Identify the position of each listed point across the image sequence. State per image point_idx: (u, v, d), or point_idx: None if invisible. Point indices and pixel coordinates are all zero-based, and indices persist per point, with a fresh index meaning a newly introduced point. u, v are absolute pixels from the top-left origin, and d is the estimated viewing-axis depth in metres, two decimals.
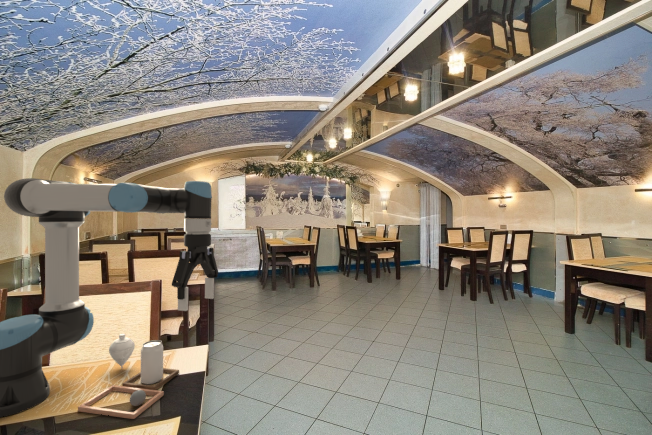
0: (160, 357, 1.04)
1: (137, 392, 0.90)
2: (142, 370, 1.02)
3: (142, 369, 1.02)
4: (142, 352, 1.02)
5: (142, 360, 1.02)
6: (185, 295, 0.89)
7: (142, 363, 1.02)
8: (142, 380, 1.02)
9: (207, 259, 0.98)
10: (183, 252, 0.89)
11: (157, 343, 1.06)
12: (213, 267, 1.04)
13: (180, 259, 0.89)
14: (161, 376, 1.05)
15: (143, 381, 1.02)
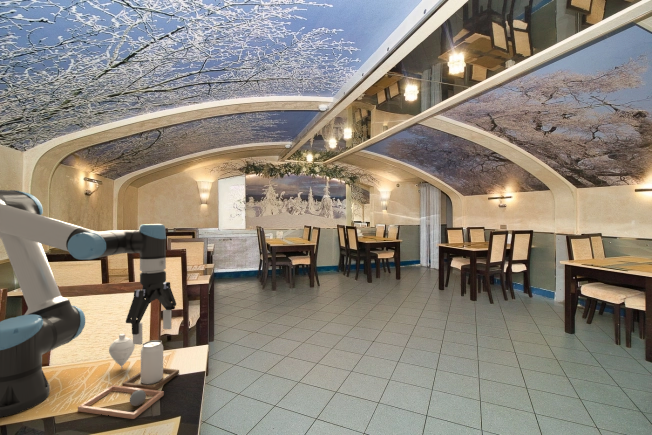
0: (160, 357, 1.04)
1: (137, 392, 0.90)
2: (142, 370, 1.02)
3: (142, 369, 1.02)
4: (142, 352, 1.02)
5: (142, 360, 1.02)
6: (139, 330, 0.98)
7: (142, 363, 1.02)
8: (142, 380, 1.02)
9: (163, 294, 1.07)
10: (137, 291, 0.98)
11: (157, 343, 1.06)
12: (171, 300, 1.12)
13: (134, 297, 0.98)
14: (161, 376, 1.05)
15: (143, 381, 1.02)
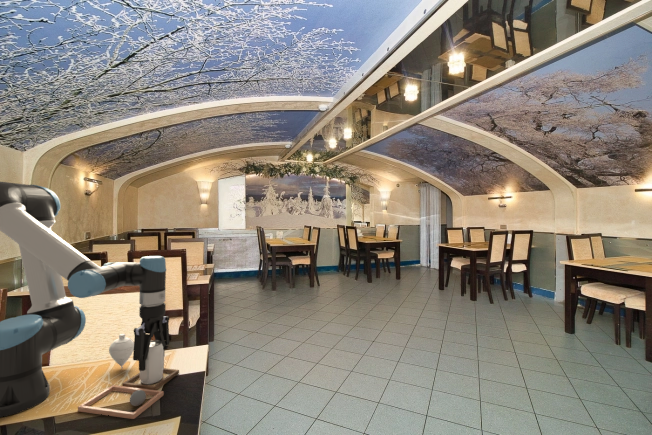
0: (160, 357, 1.04)
1: (137, 392, 0.90)
2: None
3: None
4: None
5: None
6: (146, 366, 1.01)
7: None
8: (142, 380, 1.02)
9: (161, 328, 1.06)
10: (136, 330, 0.98)
11: (157, 343, 1.06)
12: (165, 337, 1.10)
13: (135, 336, 0.99)
14: (161, 376, 1.05)
15: (143, 381, 1.02)
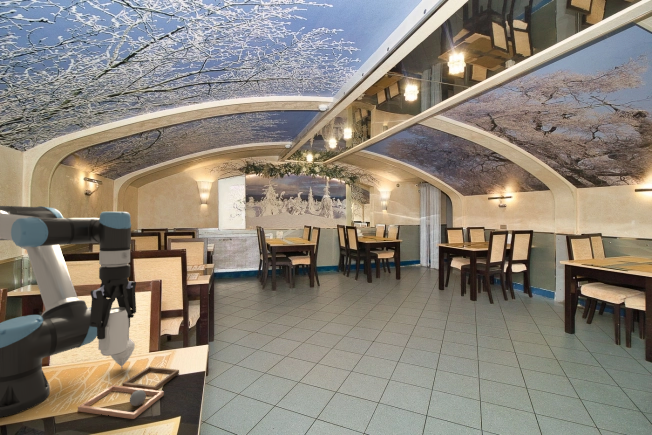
0: (123, 325, 0.92)
1: (137, 392, 0.90)
2: None
3: None
4: None
5: None
6: (105, 334, 0.88)
7: None
8: (102, 351, 0.90)
9: (125, 293, 0.94)
10: (94, 292, 0.86)
11: (120, 310, 0.93)
12: (131, 304, 0.98)
13: (93, 299, 0.86)
14: (125, 347, 0.92)
15: (103, 352, 0.89)
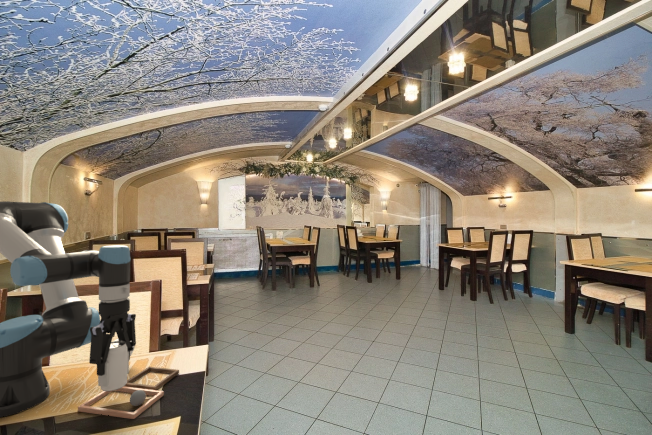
0: (123, 360, 0.91)
1: (137, 392, 0.90)
2: None
3: None
4: None
5: None
6: (105, 371, 0.88)
7: None
8: (102, 386, 0.89)
9: (124, 327, 0.94)
10: (93, 329, 0.86)
11: (120, 344, 0.93)
12: (131, 337, 0.98)
13: (92, 336, 0.86)
14: (124, 381, 0.92)
15: (103, 387, 0.89)
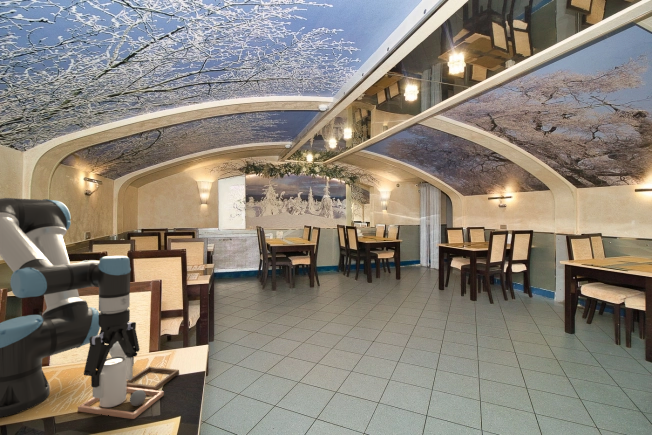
0: (122, 376, 0.91)
1: (137, 392, 0.90)
2: None
3: None
4: None
5: None
6: (100, 382, 0.87)
7: None
8: (101, 403, 0.89)
9: (125, 336, 0.94)
10: (93, 338, 0.86)
11: (119, 360, 0.93)
12: (133, 344, 0.99)
13: (91, 345, 0.86)
14: (124, 397, 0.92)
15: (102, 404, 0.89)
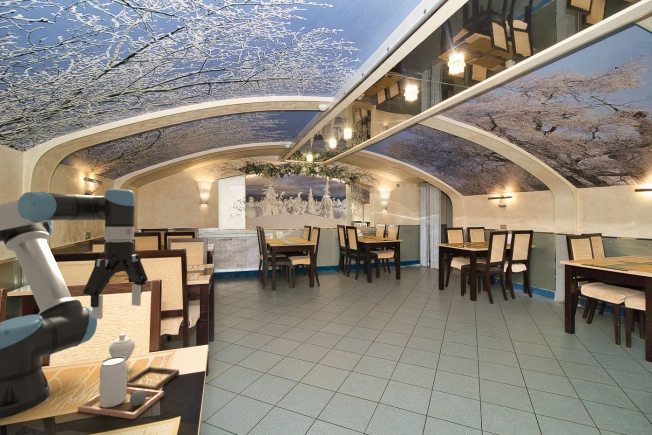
0: (122, 376, 0.91)
1: (137, 392, 0.90)
2: (101, 391, 0.89)
3: (101, 391, 0.89)
4: (101, 371, 0.90)
5: (101, 380, 0.90)
6: (99, 303, 0.89)
7: (101, 383, 0.89)
8: (101, 403, 0.89)
9: (130, 266, 0.98)
10: (98, 260, 0.90)
11: (119, 360, 0.93)
12: (141, 274, 1.04)
13: (95, 267, 0.90)
14: (124, 397, 0.92)
15: (102, 404, 0.89)
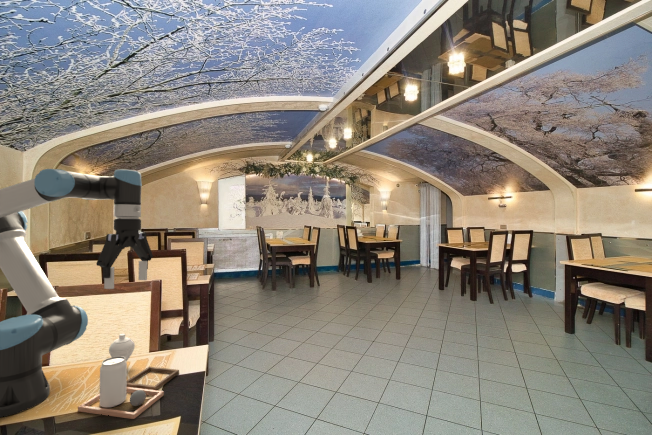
0: (122, 376, 0.91)
1: (137, 392, 0.90)
2: (101, 391, 0.89)
3: (101, 391, 0.89)
4: (101, 371, 0.90)
5: (101, 380, 0.90)
6: (111, 274, 0.96)
7: (101, 383, 0.89)
8: (101, 403, 0.89)
9: (138, 243, 1.05)
10: (109, 235, 0.97)
11: (119, 360, 0.93)
12: (147, 251, 1.11)
13: (106, 241, 0.96)
14: (124, 397, 0.92)
15: (102, 404, 0.89)
